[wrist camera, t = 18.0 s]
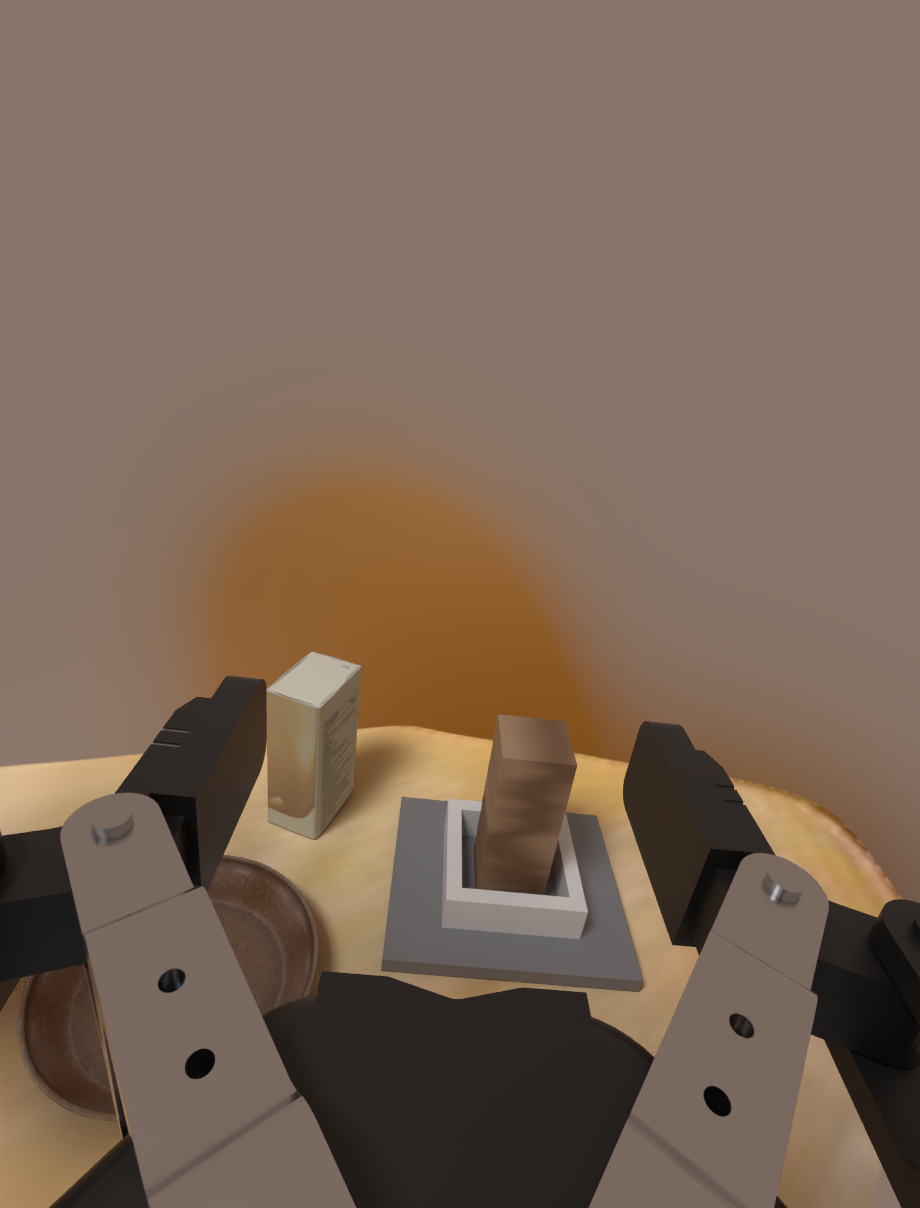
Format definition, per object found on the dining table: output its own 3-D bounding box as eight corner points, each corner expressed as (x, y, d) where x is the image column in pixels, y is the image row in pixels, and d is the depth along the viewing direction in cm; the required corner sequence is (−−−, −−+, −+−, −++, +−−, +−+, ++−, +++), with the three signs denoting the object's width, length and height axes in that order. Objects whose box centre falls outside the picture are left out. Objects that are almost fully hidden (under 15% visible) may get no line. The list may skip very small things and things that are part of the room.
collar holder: (381, 970, 37) (385, 931, 36) (400, 806, 50) (404, 772, 49) (639, 991, 38) (653, 953, 37) (593, 825, 51) (603, 792, 50)
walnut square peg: (475, 901, 42) (502, 758, 37) (473, 849, 46) (498, 714, 41) (541, 906, 42) (577, 765, 37) (533, 854, 46) (564, 721, 41)
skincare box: (309, 774, 52) (313, 648, 47) (355, 790, 51) (364, 663, 46) (263, 825, 47) (263, 687, 42) (314, 844, 45) (319, 705, 40)
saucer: (68, 1239, 25) (59, 1206, 24) (-1, 967, 35) (-9, 935, 34) (366, 1015, 35) (369, 984, 34) (249, 850, 45) (248, 821, 43)
